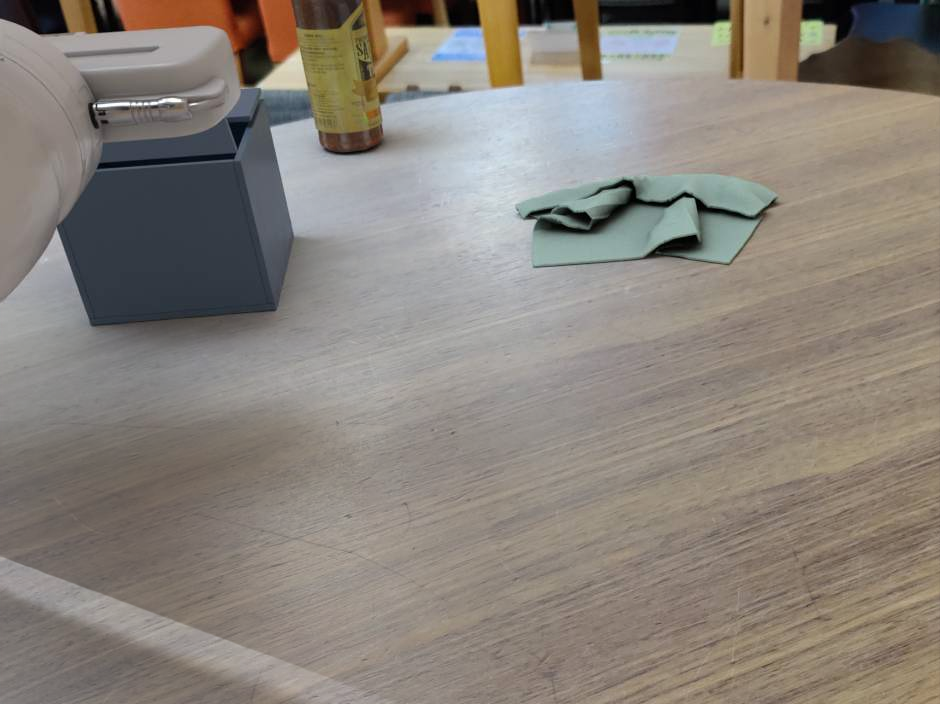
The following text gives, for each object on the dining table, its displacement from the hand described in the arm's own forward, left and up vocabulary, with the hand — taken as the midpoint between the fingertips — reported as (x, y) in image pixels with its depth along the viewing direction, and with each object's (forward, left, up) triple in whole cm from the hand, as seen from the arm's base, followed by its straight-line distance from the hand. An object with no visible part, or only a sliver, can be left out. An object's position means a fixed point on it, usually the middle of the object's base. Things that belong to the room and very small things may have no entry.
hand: (65, 48), depth 67 cm
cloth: (+34, +19, -20) cm, 44 cm away
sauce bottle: (+10, +44, -20) cm, 49 cm away
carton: (0, +15, -20) cm, 25 cm away
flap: (0, +6, -5) cm, 8 cm away
